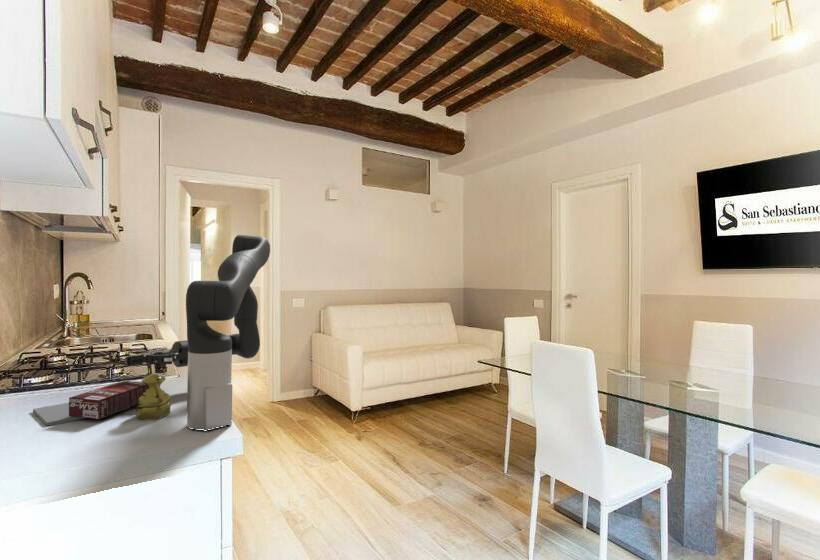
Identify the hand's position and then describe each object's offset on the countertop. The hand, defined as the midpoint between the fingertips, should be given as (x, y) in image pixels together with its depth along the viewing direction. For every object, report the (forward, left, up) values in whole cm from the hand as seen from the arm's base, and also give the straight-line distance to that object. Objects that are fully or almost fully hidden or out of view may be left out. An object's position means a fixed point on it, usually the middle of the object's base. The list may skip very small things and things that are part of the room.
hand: (126, 361), depth 113 cm
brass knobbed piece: (-16, -1, -11) cm, 20 cm away
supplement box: (-2, -2, -8) cm, 8 cm away
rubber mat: (0, +10, -11) cm, 15 cm away
